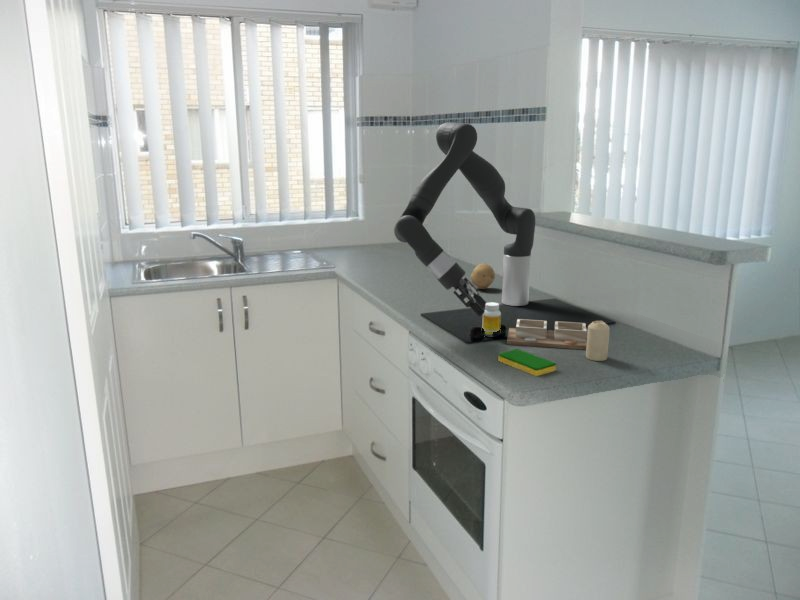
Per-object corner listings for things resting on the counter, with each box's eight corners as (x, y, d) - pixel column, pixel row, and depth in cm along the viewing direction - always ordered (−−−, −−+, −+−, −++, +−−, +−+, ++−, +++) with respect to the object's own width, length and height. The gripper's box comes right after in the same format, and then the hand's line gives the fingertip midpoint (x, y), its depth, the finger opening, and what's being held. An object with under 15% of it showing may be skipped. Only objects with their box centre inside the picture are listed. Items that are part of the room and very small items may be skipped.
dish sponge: (516, 357, 179) (517, 348, 178) (556, 372, 168) (556, 362, 167) (497, 362, 175) (497, 353, 174) (536, 377, 164) (536, 368, 163)
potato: (496, 292, 248) (497, 266, 246) (472, 292, 248) (473, 266, 245) (491, 286, 257) (492, 261, 255) (469, 286, 257) (469, 261, 254)
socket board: (509, 331, 200) (509, 318, 199) (591, 336, 195) (592, 323, 194) (506, 344, 188) (507, 330, 187) (594, 350, 183) (595, 336, 182)
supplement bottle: (480, 332, 198) (481, 301, 196) (498, 332, 199) (499, 301, 196) (483, 338, 193) (484, 306, 191) (501, 338, 194) (503, 306, 191)
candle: (606, 362, 173) (609, 325, 171) (584, 359, 175) (587, 323, 173) (608, 356, 178) (611, 320, 176) (586, 353, 180) (589, 318, 178)
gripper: (451, 266, 186) (491, 308, 187) (458, 257, 200) (495, 296, 200) (432, 283, 189) (471, 325, 189) (440, 273, 202) (477, 312, 203)
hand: (483, 310), depth 195 cm, fingers open, 8 cm apart
